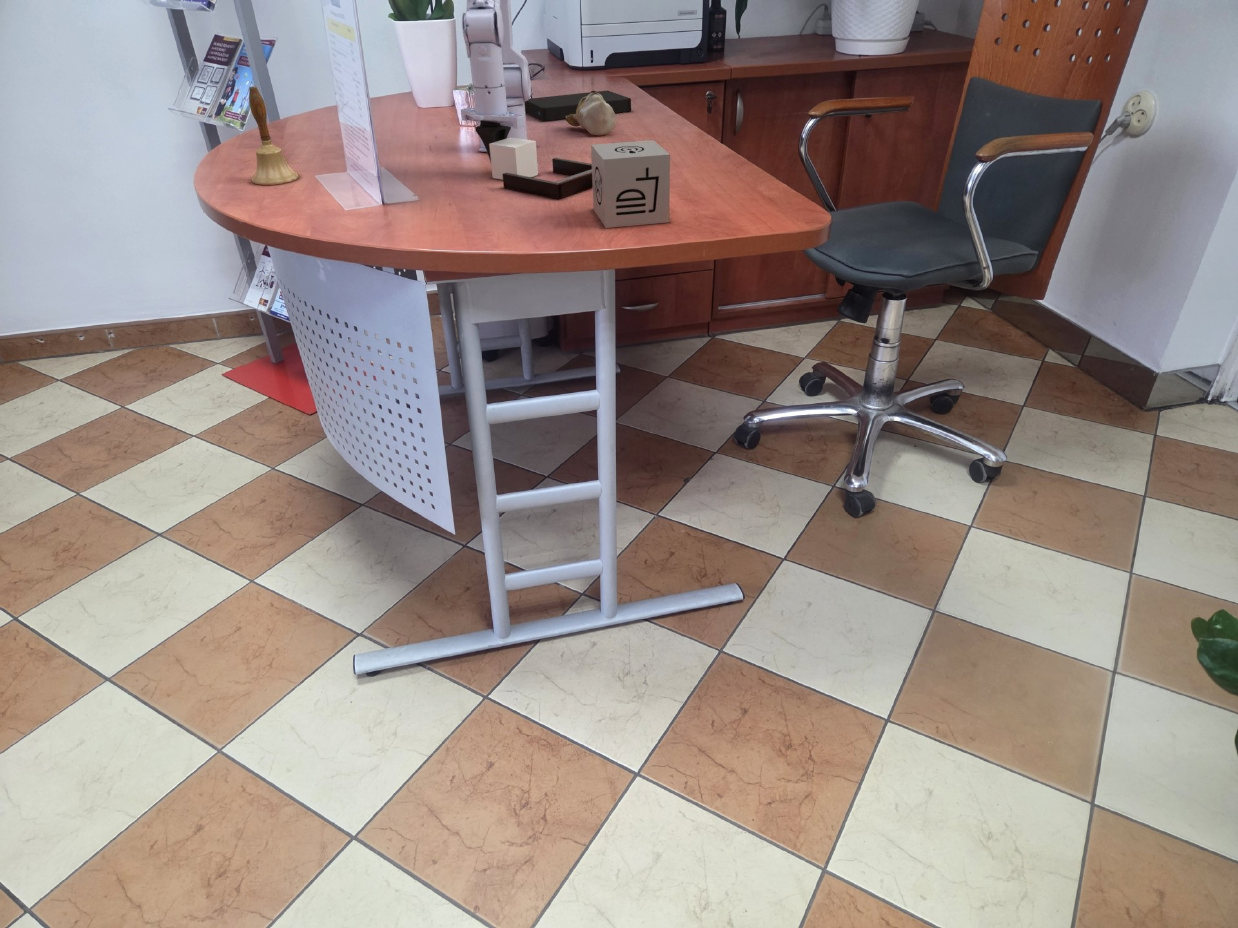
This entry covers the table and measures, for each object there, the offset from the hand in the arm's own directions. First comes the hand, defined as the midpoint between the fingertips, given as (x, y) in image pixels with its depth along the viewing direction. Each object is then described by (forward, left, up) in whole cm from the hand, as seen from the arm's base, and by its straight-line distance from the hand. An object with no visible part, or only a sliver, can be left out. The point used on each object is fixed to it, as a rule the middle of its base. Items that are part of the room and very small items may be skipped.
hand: (497, 165), depth 150 cm
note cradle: (+14, -4, -1) cm, 15 cm away
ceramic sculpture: (+3, +39, -2) cm, 39 cm away
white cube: (+4, -1, -2) cm, 5 cm away
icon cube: (+33, -18, -2) cm, 38 cm away
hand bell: (-39, -16, -2) cm, 42 cm away
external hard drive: (-10, +59, -2) cm, 60 cm away
